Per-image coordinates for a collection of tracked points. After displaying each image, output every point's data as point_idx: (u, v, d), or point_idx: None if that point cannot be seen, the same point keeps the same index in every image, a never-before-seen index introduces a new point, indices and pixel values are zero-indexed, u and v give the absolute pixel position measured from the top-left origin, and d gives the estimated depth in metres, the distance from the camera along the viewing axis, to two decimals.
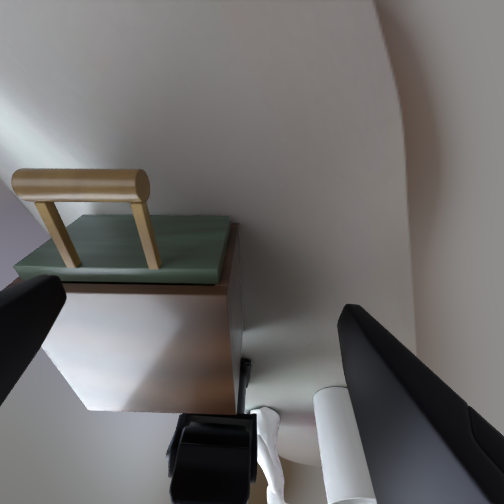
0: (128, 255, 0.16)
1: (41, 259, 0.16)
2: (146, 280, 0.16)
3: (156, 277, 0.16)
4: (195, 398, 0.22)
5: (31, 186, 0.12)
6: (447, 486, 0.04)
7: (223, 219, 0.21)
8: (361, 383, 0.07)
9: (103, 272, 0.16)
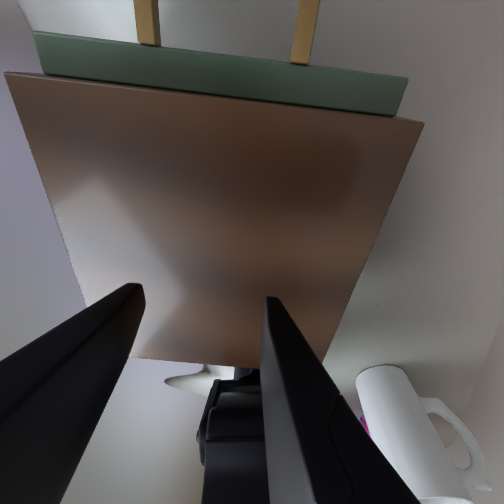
0: None
1: None
2: (274, 94, 0.09)
3: (294, 88, 0.09)
4: None
5: None
6: (295, 475, 0.04)
7: None
8: (265, 375, 0.07)
9: (201, 66, 0.09)
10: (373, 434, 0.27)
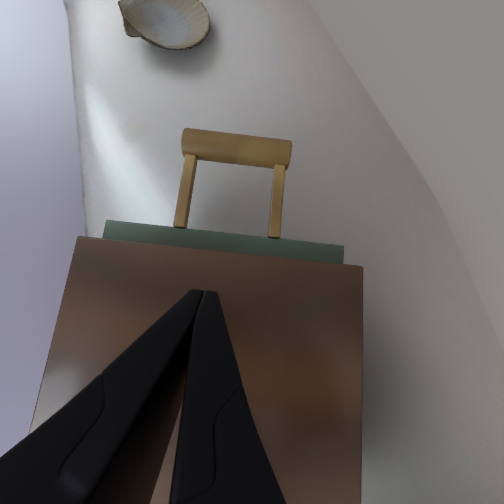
0: None
1: None
2: (259, 253, 0.13)
3: (272, 250, 0.13)
4: None
5: (200, 133, 0.14)
6: None
7: None
8: None
9: (211, 238, 0.13)
10: None
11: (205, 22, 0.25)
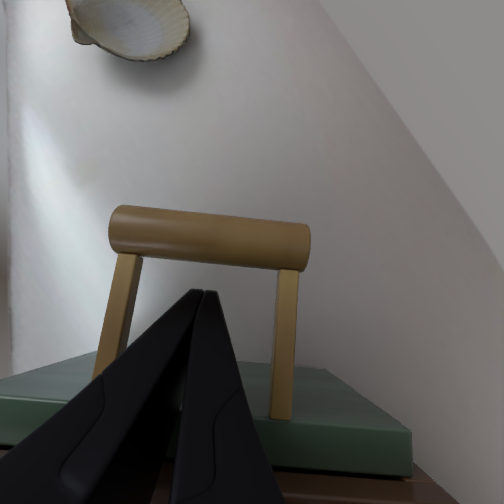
0: None
1: (27, 387, 0.08)
2: None
3: (276, 447, 0.07)
4: None
5: (143, 219, 0.07)
6: None
7: (321, 371, 0.14)
8: None
9: None
10: None
11: (184, 25, 0.19)
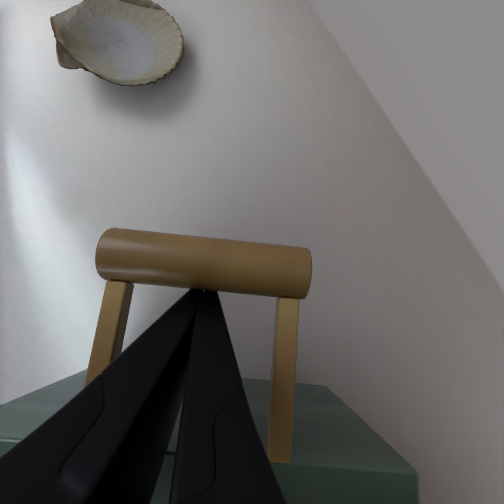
0: None
1: (10, 423, 0.07)
2: None
3: None
4: None
5: (132, 245, 0.07)
6: None
7: (321, 389, 0.13)
8: None
9: None
10: None
11: (177, 45, 0.18)
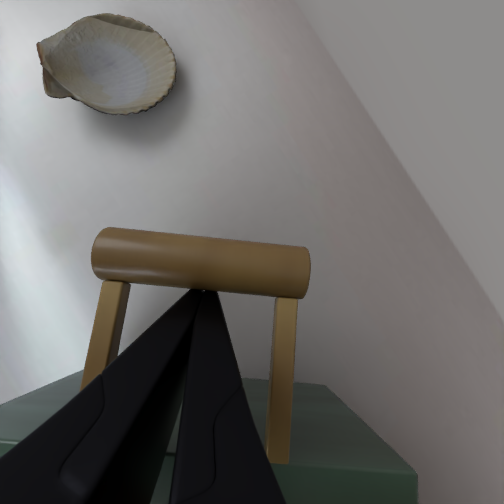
0: None
1: (6, 424, 0.07)
2: None
3: None
4: None
5: (128, 244, 0.07)
6: None
7: (320, 388, 0.13)
8: None
9: None
10: None
11: (169, 69, 0.17)
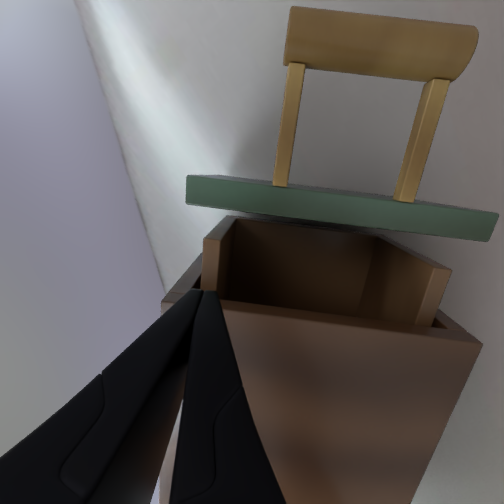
0: (340, 192, 0.11)
1: (220, 178, 0.11)
2: (380, 223, 0.10)
3: (398, 219, 0.10)
4: None
5: (319, 20, 0.08)
6: None
7: None
8: None
9: (320, 201, 0.10)
10: None
11: None
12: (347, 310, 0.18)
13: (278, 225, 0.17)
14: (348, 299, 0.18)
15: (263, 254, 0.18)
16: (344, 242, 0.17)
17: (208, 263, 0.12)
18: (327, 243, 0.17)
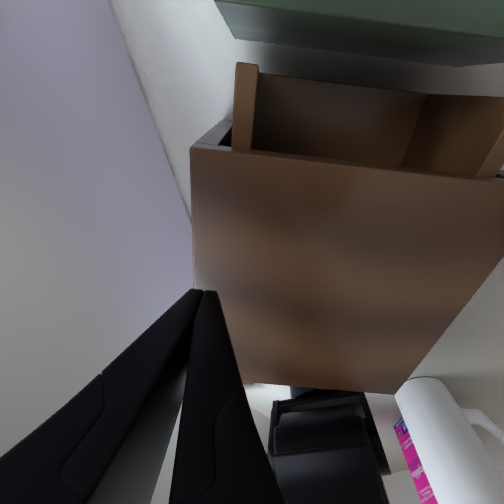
0: None
1: None
2: (475, 24, 0.08)
3: (502, 16, 0.08)
4: (360, 367, 0.16)
5: None
6: None
7: None
8: None
9: None
10: (419, 445, 0.28)
11: None
12: None
13: (311, 82, 0.14)
14: None
15: (290, 123, 0.15)
16: (388, 104, 0.14)
17: (242, 101, 0.09)
18: (367, 106, 0.14)
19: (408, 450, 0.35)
